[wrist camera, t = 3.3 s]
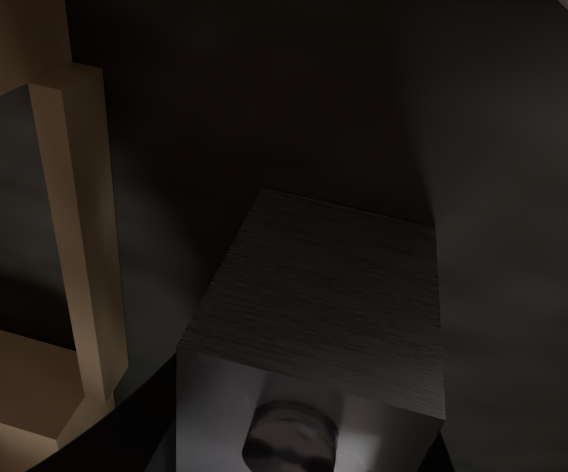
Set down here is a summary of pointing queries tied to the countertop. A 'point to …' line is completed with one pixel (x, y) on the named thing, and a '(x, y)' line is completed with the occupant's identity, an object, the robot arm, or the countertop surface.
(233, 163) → the countertop surface
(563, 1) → the medicine bottle
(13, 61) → the wooden frame
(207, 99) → the countertop surface
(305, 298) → the white box with knobs
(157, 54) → the countertop surface
